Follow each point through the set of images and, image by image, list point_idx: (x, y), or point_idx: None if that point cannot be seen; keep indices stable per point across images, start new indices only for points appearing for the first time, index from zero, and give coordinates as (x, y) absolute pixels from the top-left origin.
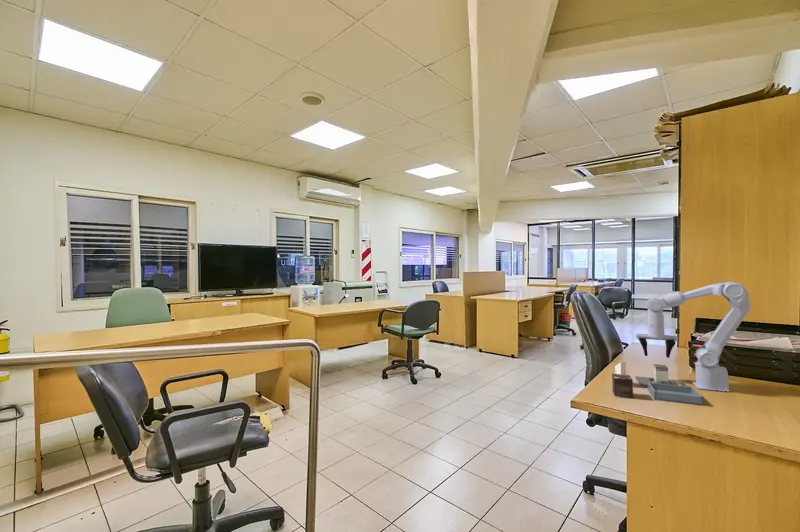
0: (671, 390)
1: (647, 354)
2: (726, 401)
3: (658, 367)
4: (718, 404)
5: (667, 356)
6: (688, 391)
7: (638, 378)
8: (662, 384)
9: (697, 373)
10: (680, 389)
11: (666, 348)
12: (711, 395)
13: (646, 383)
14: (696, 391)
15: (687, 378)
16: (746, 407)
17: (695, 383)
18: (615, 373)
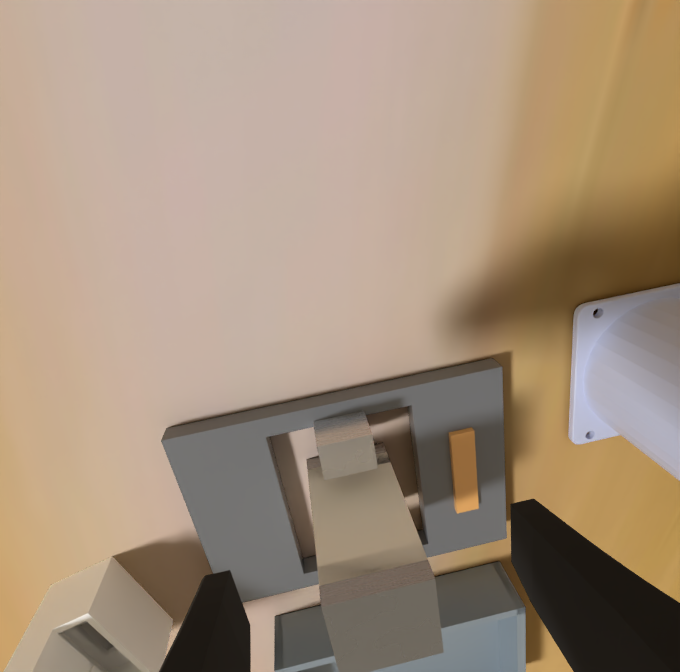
0: None
1: (249, 661)
2: (628, 564)
3: (362, 666)
4: None
5: (522, 584)
6: (488, 590)
7: (193, 491)
8: None
9: (665, 458)
10: (451, 607)
11: (622, 644)
12: (594, 514)
13: (260, 572)
14: (523, 664)
15: (579, 166)
16: (676, 591)
17: (587, 351)
18: (15, 661)
